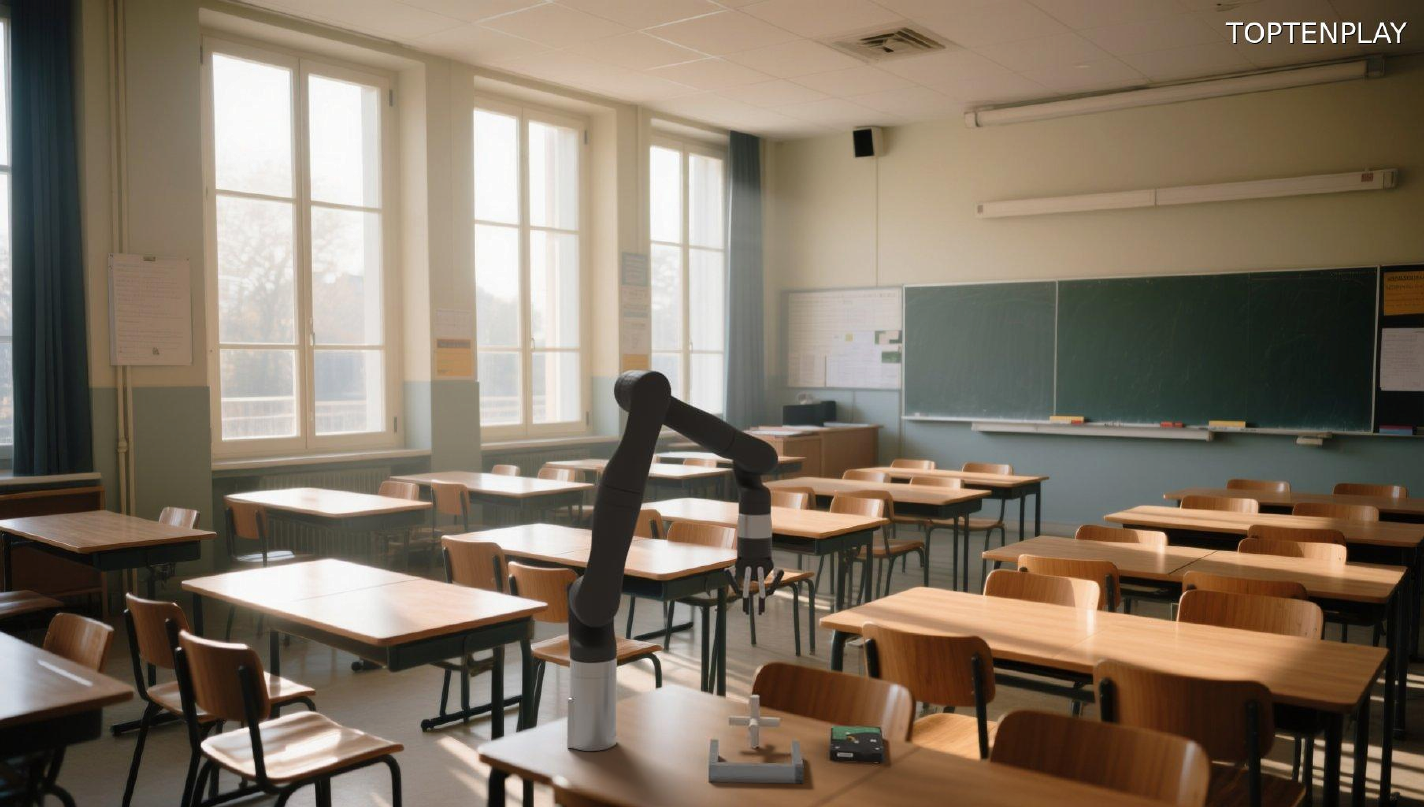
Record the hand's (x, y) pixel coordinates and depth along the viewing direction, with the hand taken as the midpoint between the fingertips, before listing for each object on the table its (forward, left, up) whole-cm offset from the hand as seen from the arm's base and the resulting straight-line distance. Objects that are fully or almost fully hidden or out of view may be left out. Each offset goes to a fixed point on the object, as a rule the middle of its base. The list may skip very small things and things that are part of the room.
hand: (753, 614), depth 218 cm
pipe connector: (0, -19, -22) cm, 29 cm away
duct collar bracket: (0, -31, -22) cm, 38 cm away
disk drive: (+20, -19, -23) cm, 36 cm away
